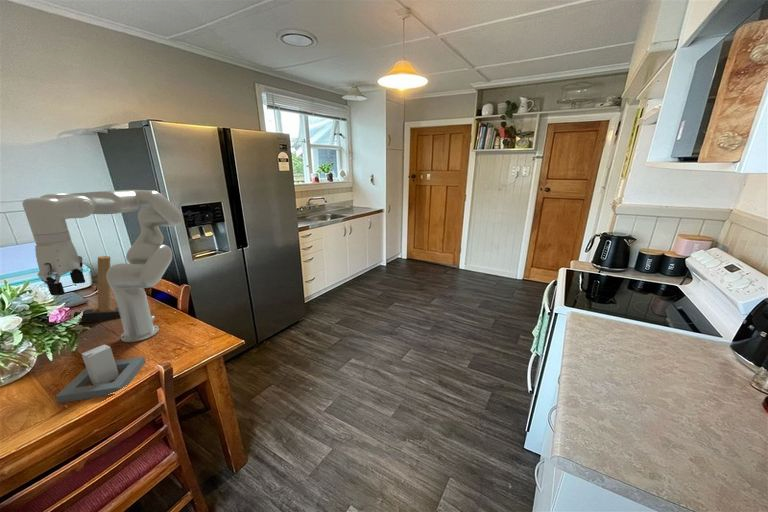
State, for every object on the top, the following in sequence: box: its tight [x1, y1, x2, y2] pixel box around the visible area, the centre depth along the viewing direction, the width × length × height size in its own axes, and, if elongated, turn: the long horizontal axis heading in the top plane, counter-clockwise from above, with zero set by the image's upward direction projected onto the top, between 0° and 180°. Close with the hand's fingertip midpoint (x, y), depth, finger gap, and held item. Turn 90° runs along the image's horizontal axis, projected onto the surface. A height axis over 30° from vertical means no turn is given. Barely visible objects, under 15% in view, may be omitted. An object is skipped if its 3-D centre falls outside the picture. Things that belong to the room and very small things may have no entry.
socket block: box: [55, 356, 146, 404], centre depth 97 cm, size 16×16×2 cm
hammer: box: [73, 255, 120, 323], centre depth 134 cm, size 20×5×30 cm, turn 124°
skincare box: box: [81, 344, 120, 385], centre depth 96 cm, size 6×4×12 cm
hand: (69, 288), depth 96 cm, fingers open, 9 cm apart
